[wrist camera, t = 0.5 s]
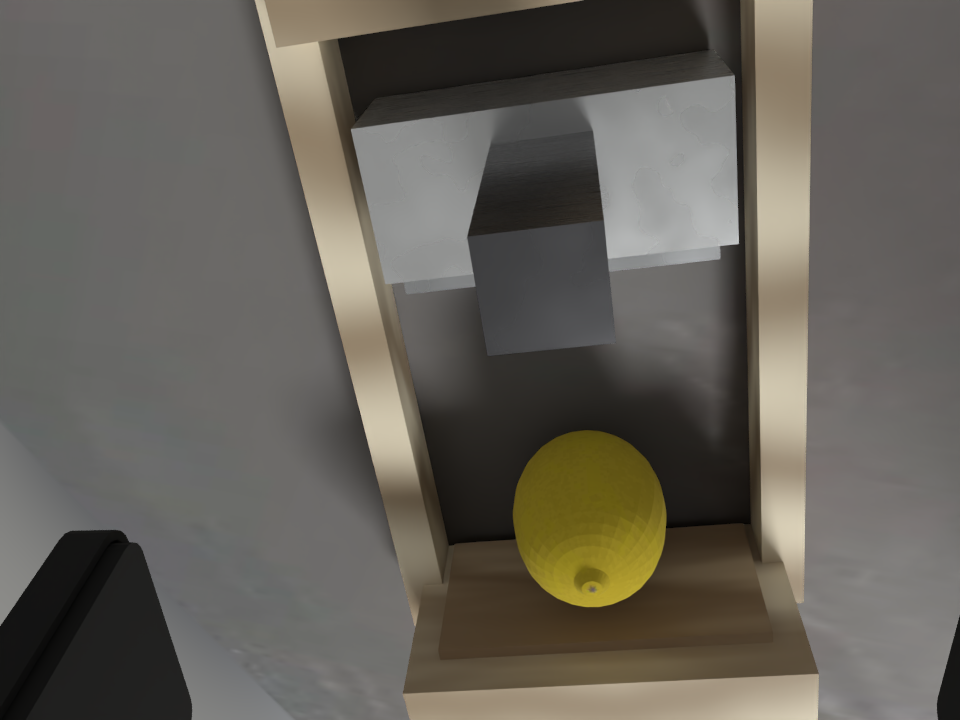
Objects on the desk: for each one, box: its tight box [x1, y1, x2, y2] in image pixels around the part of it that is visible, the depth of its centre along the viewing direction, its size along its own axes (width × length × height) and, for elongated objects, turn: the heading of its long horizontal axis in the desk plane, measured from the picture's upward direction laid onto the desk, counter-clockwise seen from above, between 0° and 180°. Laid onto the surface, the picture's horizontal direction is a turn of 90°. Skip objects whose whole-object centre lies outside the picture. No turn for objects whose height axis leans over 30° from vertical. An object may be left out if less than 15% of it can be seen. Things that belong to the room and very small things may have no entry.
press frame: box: [255, 0, 819, 720], centre depth 30 cm, size 26×16×8 cm, turn 9°
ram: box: [351, 49, 739, 356], centre depth 26 cm, size 6×11×12 cm, turn 99°
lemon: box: [513, 430, 666, 607], centre depth 33 cm, size 6×6×8 cm
